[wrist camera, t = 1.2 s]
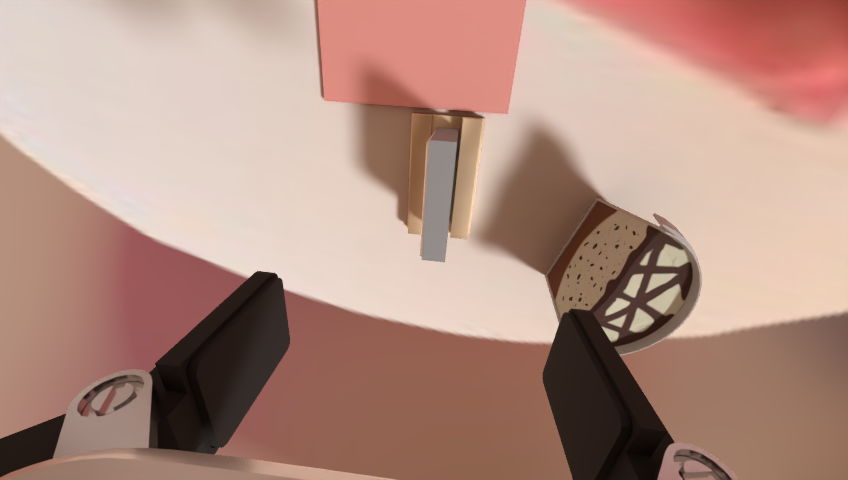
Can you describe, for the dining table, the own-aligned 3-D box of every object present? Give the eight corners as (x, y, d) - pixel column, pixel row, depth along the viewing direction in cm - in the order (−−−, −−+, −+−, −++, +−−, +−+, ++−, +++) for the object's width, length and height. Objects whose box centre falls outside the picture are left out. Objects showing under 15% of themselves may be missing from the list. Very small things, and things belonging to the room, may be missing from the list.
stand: (485, 118, 28) (486, 119, 26) (469, 232, 32) (469, 239, 31) (412, 112, 28) (409, 114, 27) (407, 226, 33) (405, 232, 31)
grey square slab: (458, 128, 28) (457, 142, 21) (448, 223, 32) (444, 262, 24) (435, 127, 28) (426, 139, 21) (428, 221, 32) (419, 259, 25)
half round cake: (588, 306, 34) (633, 382, 25) (537, 286, 34) (564, 356, 25) (666, 207, 29) (757, 260, 20) (606, 182, 29) (672, 224, 20)
